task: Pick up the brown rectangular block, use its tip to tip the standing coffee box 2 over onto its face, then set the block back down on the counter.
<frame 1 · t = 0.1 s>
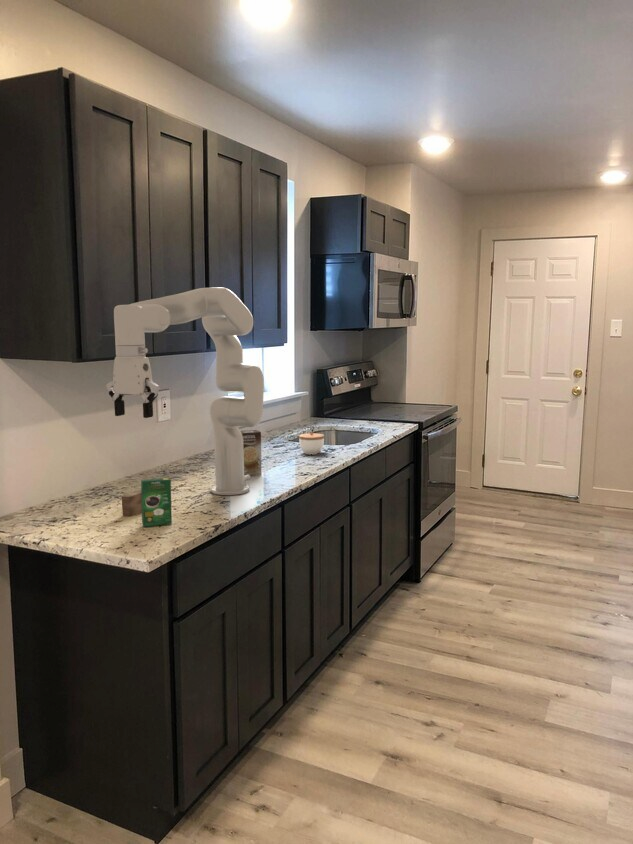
hand: (134, 416, 181), 31 cm above the counter, fingers open, 9 cm apart
coffee box 2: (157, 525, 189), on the counter
lidded jar: (311, 453, 289), on the counter
brown rectangular block: (142, 510, 204), on the counter
coffee box: (247, 474, 251), on the counter
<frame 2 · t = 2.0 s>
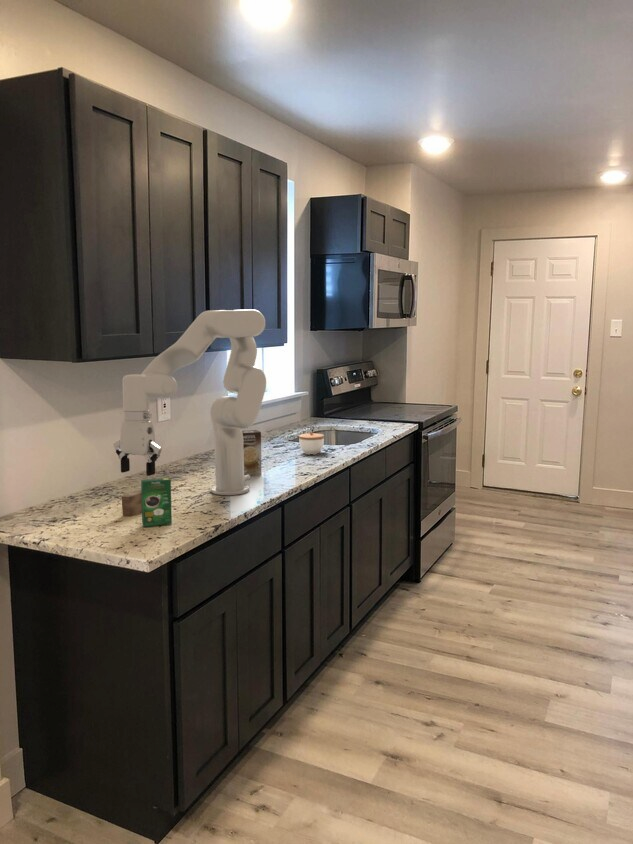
hand: (137, 473, 202), 11 cm above the counter, fingers open, 9 cm apart
nothing on the counter moved.
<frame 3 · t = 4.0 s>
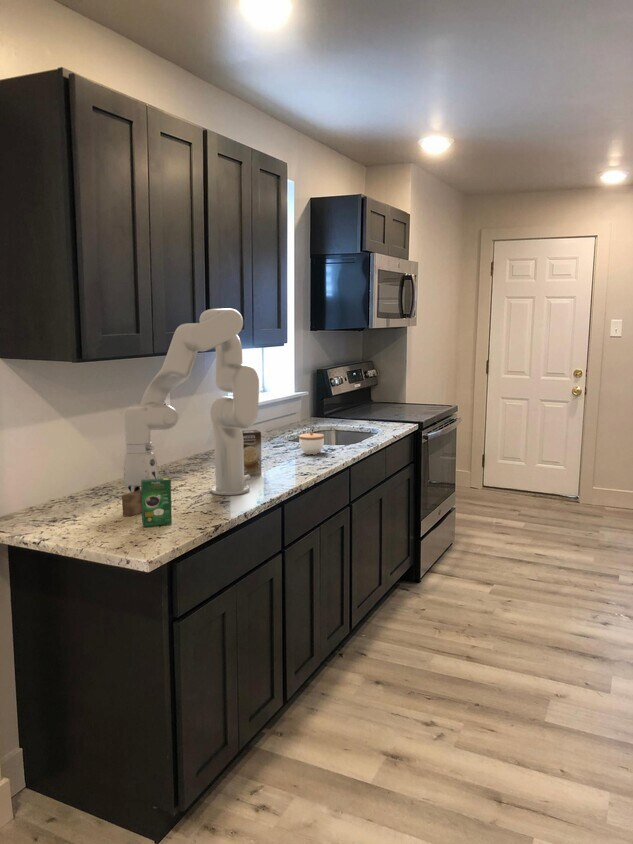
hand: (142, 507, 204), 1 cm above the counter, fingers closed on brown rectangular block, 2 cm apart
brown rectangular block: (142, 509, 204), on the counter, touching gripper
everything else where it was.
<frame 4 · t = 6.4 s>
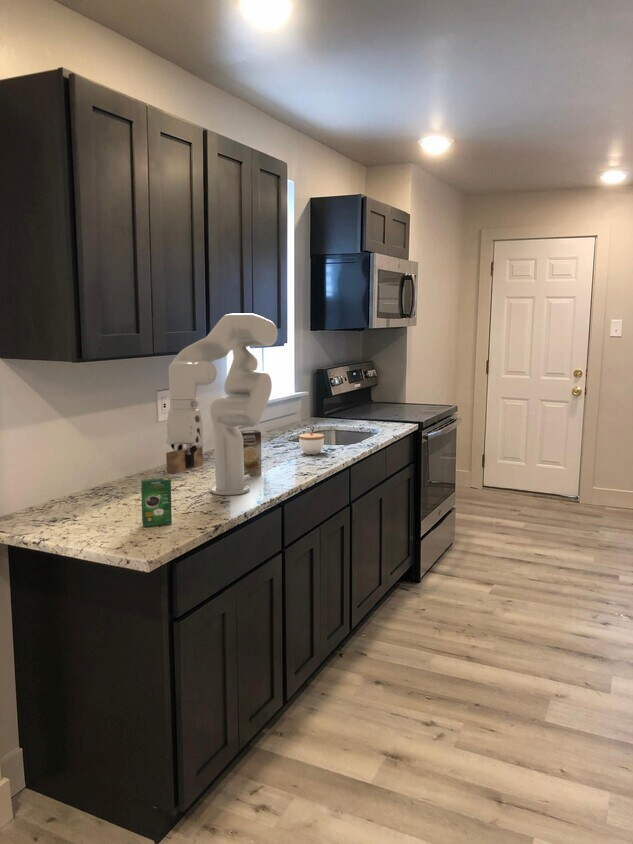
hand: (185, 466, 199), 14 cm above the counter, fingers closed on brown rectangular block, 2 cm apart
brown rectangular block: (185, 469, 200), point 13 cm above the counter, touching gripper
everything else where it was.
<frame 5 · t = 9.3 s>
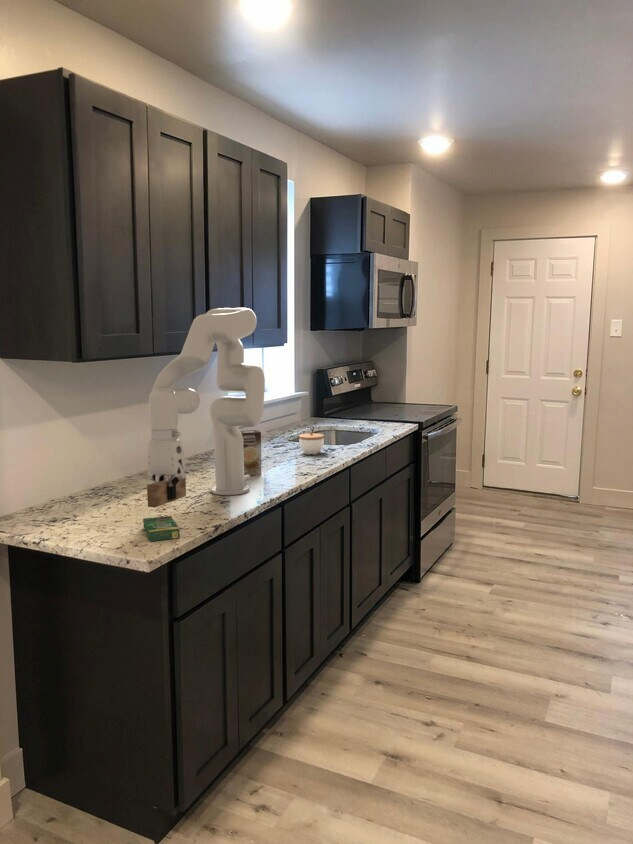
hand: (167, 498, 193), 6 cm above the counter, fingers closed on brown rectangular block, 2 cm apart
coffee box 2: (157, 521, 188), point 1 cm above the counter
brown rectangular block: (167, 501, 193), point 6 cm above the counter, touching gripper
everything else where it was.
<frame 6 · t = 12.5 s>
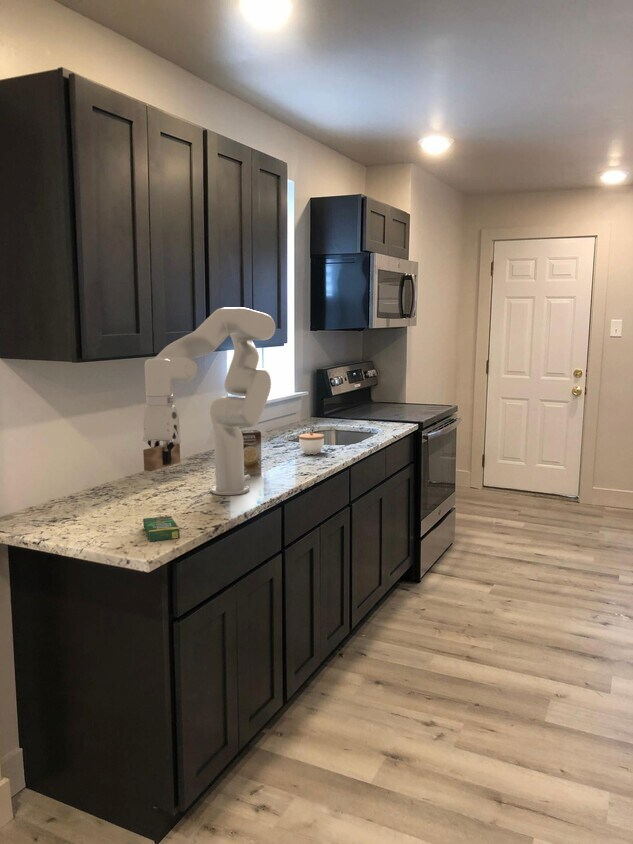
hand: (162, 463, 198), 15 cm above the counter, fingers closed on brown rectangular block, 2 cm apart
brown rectangular block: (162, 466, 198), point 14 cm above the counter, touching gripper
everything else where it was.
when the fingers open (2 cm above the counter, at t = 15.6 s): brown rectangular block drops 1 cm, on the counter.
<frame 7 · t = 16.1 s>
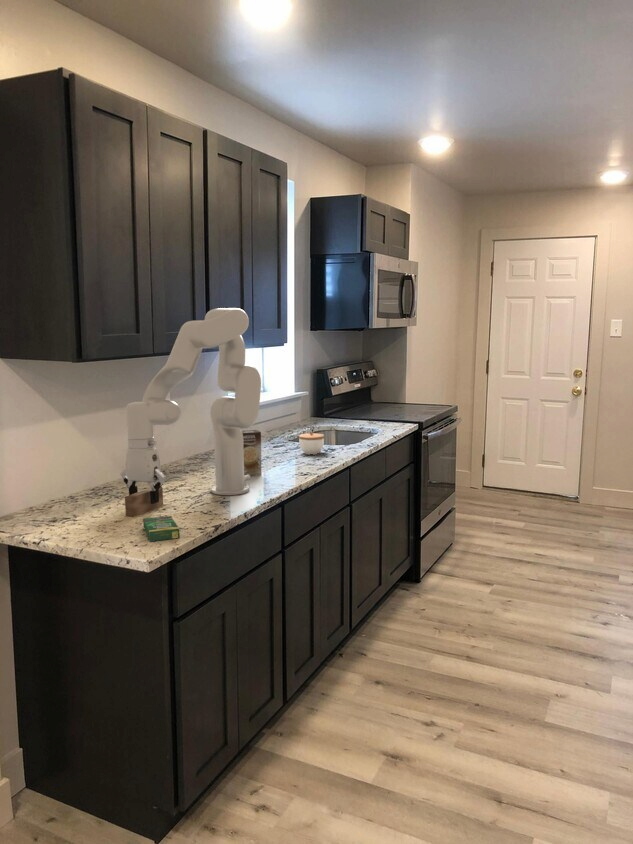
hand: (144, 501, 204), 3 cm above the counter, fingers open, 7 cm apart
brown rectangular block: (145, 511, 204), on the counter
everything else where it was.
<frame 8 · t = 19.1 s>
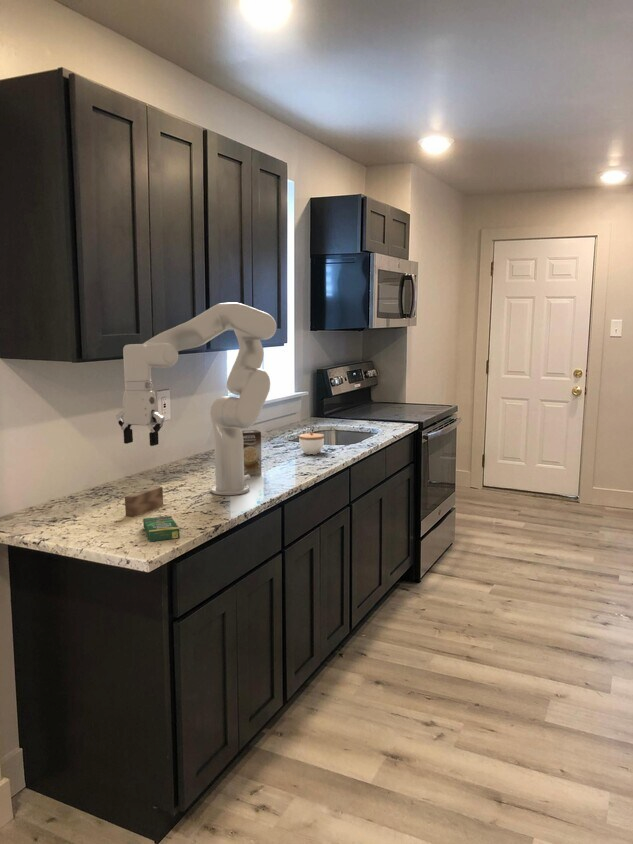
hand: (141, 444, 201), 20 cm above the counter, fingers open, 9 cm apart
nothing on the counter moved.
at the end: coffee box 2 tilted 90°; the gripper is holding nothing; brown rectangular block inside the target area (0.1 cm from its centre), on the counter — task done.
